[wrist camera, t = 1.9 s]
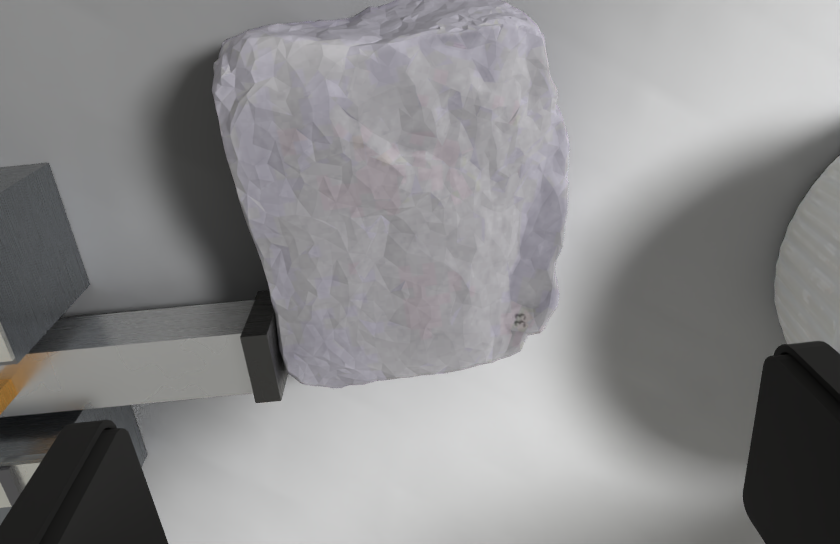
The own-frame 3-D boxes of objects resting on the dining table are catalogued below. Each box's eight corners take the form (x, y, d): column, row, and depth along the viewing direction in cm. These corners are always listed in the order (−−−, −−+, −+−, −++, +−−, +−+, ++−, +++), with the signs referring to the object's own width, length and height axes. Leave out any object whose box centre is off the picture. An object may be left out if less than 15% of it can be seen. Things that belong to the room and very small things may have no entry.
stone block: (512, -31, 22) (196, 28, 20) (578, -25, 17) (185, 50, 16) (537, 290, 27) (290, 354, 26) (592, 354, 23) (301, 435, 21)
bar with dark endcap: (281, 289, 23) (245, 399, 17) (293, 349, 24) (263, 472, 18) (-35, 319, 23) (-175, 439, 17) (-9, 378, 24) (-133, 509, 18)
